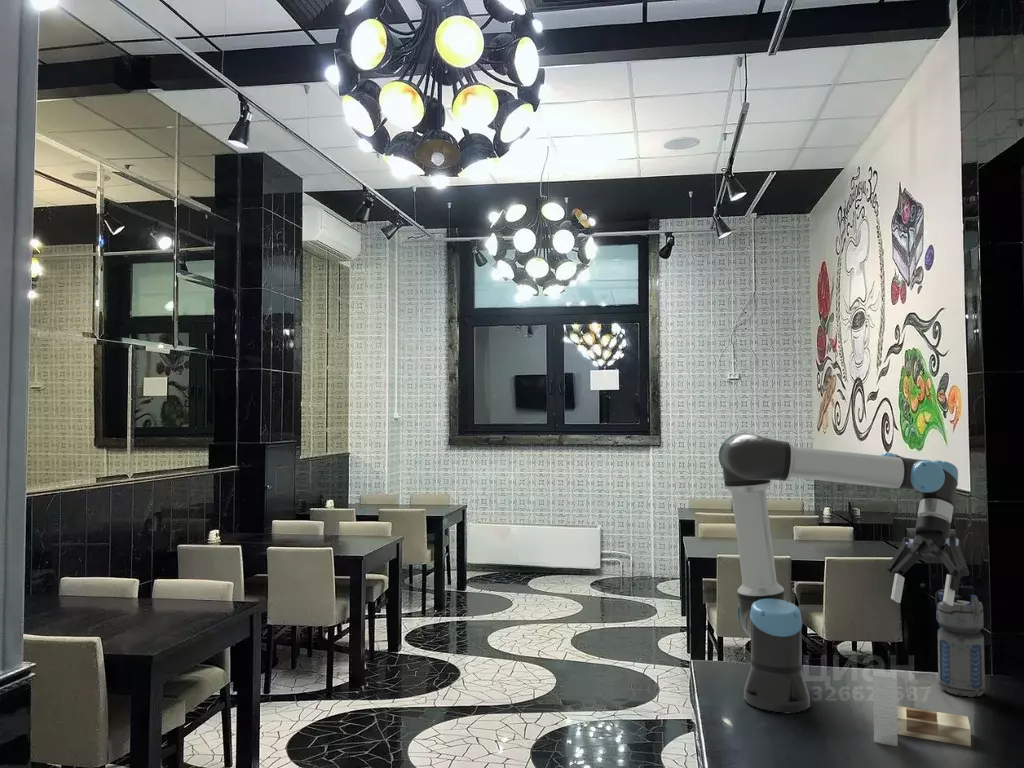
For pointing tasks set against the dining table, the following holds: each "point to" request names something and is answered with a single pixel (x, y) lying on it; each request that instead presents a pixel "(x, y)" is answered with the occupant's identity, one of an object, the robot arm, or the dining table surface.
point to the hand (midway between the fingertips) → (920, 602)
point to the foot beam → (933, 725)
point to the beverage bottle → (960, 646)
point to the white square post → (885, 707)
